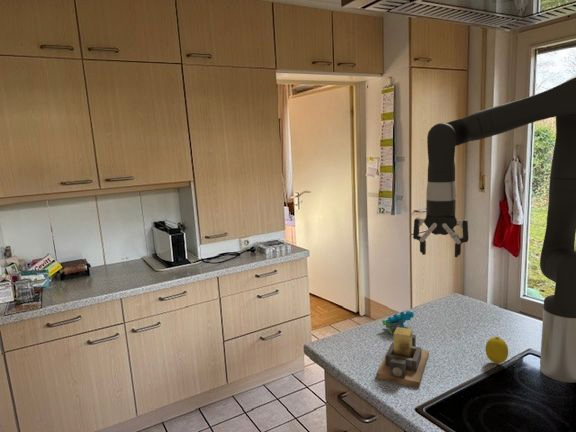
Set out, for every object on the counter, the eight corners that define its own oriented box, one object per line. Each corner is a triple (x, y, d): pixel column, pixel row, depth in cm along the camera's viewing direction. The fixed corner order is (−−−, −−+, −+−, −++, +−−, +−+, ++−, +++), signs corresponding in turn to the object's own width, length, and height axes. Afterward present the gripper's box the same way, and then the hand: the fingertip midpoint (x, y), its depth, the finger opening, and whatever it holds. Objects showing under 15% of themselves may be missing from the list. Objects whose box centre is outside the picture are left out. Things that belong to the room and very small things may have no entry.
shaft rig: (428, 355, 117) (429, 336, 116) (419, 387, 102) (419, 366, 101) (390, 348, 122) (390, 330, 121) (376, 378, 107) (376, 357, 106)
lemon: (508, 370, 107) (509, 343, 106) (485, 367, 110) (486, 339, 108) (506, 360, 112) (508, 334, 111) (484, 357, 115) (485, 331, 113)
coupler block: (412, 359, 112) (412, 329, 111) (409, 366, 109) (409, 335, 107) (397, 356, 114) (397, 326, 113) (393, 363, 111) (393, 333, 109)
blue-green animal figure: (409, 317, 139) (415, 306, 131) (415, 334, 136) (423, 323, 128) (378, 325, 138) (383, 314, 130) (385, 341, 135) (390, 331, 127)
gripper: (411, 199, 109) (411, 256, 112) (468, 200, 103) (467, 261, 106) (416, 196, 116) (415, 250, 119) (470, 196, 110) (468, 254, 112)
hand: (440, 255), depth 112 cm, fingers open, 8 cm apart
